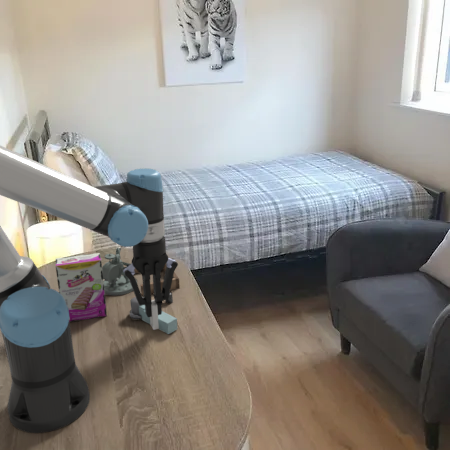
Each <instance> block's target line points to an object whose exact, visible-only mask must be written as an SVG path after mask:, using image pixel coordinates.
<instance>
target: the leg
mask: <svg viewBox="0 0 450 450" xmlns="http://www.w3.org/2000/svg"><path fill="white" fill-rule="evenodd" d="M142 297H143V298H144V296H142ZM130 310H131V312H132V313H133V314H140V315H142V319H141V321H143V322H144V323H147V324H149V325H150V317H147V315H146V313H145V305H139V303H138V301H137V299H136V296H134V297H132V298H131V299H130ZM158 324H159V329H158V330H160V331H161V332H163V333H166V334H167V335H169V334H172V333H174V332H175V331H176V330H178V318H177V317H175V316H173V315H171V314H169V313H167V312H165V311H163V310H162V313H161V315H158Z"/></svg>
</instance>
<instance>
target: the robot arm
mask: <svg viewBox="0 0 450 450" xmlns="http://www.w3.org/2000/svg"><path fill="white" fill-rule="evenodd" d="M125 179H126V181H122V182H119V183H113V184H111V183H110V184H105V185H98V186H93V185H90V184H88V183H85V182H83V181H81V180H79V179H76V178H75V177H72V176H70V175H67V174H66V173H64V172H63V173H62V172H61V171H59V170H56V169H53V168H51V167H50V166H47V165H45V164H43V163H41V162H38V161H36V160H34V159H32V158H30V157H27V156H25V155H22V154H20V153H18V152H16V151H14V150H11V149H9V148H7V147H4V146H3V145H0V196H2V197H4V198H6V199H9V200H11V201H14V202H17V203H20V204H23V205H25V206H28V207H31V208H33V209H35V210H39V211H41V212H44V213H46V214H49V215H52V216H54V217H57V218H58V219H59V218H60V219H62V220H65V221H67V222H69V223H72V224H75V225H78V226H80V227H82V228H85V229H89V230H91V231H93V232H95V233H97V234H100V235H103V236H105V237H108V238H109V239H110V240H111V242H113V243H114V244H116V245H119V246H120V247H126V248H129V247H132V258H131V263H132V264H131V263H130V264H131V265H129V266H128V267H126V266H124V268H123V272H124V273H125V275H126V276H127V277H128V278H129V281H130V283H131V286H132V288H133V291H132V292H133V293H134V297H136V299H137V301H138V303H139V305H145V313H146V315H147V317H150V324H149V325H150V326H151V328H152V330H153V331H155V330H160V329H159V324H158V315H161V313H162V311H163V310H162V309H163V307H162V305H163V302H165V300H168V298H169V294H170V292H171V290H170V289H171V284H172V279H173V274H174V272H175V270H176V269H177V267H178V266H179V264H178V261H176V259H175V258H170V257H169V256H168V254H167V248H166V247H167V246H166V245H167V243H166V237H165V235H166V233H165V232H166V231H165V230H166V229H165V213H164V193H163V192H164V189H163V187H164V186H163V180H162V175H161V173H160V172H159V171H158V170H156V169H153V168H136V169H133V170H129V171H128V172H127V174H126V178H125ZM165 264H166V266H167V267H166V271H164V277H163V280H164V281H163V286H162V291H161V278H162V272H163V268H164V266H165ZM135 268H136V269H137V270H138V271H139V273H140V275H141V278H142V284H143V293H144V295H142V294H141V289H140V288H139V285H138V281H137V282H136V280H137V279H136V278H135V274H136V273H135V271H134V269H135ZM161 271H162V272H161ZM151 276H152V282H153V288H154V293H153V299H152V294H151V288H150V283H151ZM143 297H144V298H143ZM0 333H1V337H2V340H3V343H4V348H5V353H6V357H7V362H8V367H9V372H10V376H11V385H10V390H9V395H8V400H7V401H8V402H7V413H8V417H9V418H8V419H9V422H10V423H11V425H12V426H13V427H14V428H16V429H18V430H19V431H22V432H25V433H29V434H30V433H31V434H39V433H47V432H53V431H56V430H58V429H61V428H64V427H65V426H68V425H70V424H71V423H73V422H74V421H76V420H78V418H80V417H81V416H82V414H84V412H85V411H86V409H88V406H89V404H90V400H91V399H90V397H91V396H90V389H89V385H88V383H87V381H86V379H85V377H84V376H83V374H82V373H81V371H80V369H79V368H78V366H77V363H76V358H75V351H74V345H73V338H72V337H73V336H72V331H71V322H69V310H68V307H67V305H66V302H65V299H64V297H63V296H62V295H61V294H60V293H59V290H56V289H53V288H51V285H50V283H49V281H48V279H47V278H46V277H45V275H43V274H42V272H41V271H40V270H39V268H38V267H37V265H36V264H35V262H34V260H33V259H32V258H30V257H28V256H24V255H20V254H19V252H18V251H17V249H16V247H15V246H14V245H13V243H12V241H11V240H10V239H9V237H8V236H7V234H6V232H5V231H4V229H3V228H2V227H1V225H0Z"/></svg>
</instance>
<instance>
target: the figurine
mask: <svg viewBox="0 0 450 450" xmlns="http://www.w3.org/2000/svg"><path fill="white" fill-rule="evenodd" d="M121 250H122V248H120V247H116V249H115V254H113V253H107V254H105V255H104V259H105V260H108V261H107V262H105V263H104V264H103V265H102V273H103V282H104V291H105V295H107V296H115V297H116V296H122V295H127V294H129V293H131V292H132V293H133V292H134V291H133V288H132V286H131V283H130V281H129V278H128V277H127V276H126V275H125V273H124V272H123V268H124V267H128V266H129V265H131V263H129V262H126V261H123V260H122V259H121ZM136 282H137V283H138V280H137V279H136Z"/></svg>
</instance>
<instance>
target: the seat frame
mask: <svg viewBox="0 0 450 450" xmlns="http://www.w3.org/2000/svg"><path fill="white" fill-rule="evenodd" d="M130 264H132V262H131V263H130ZM166 267H167V266H166V264H165V266H164V268H163V269H162V271H161V273H163V271H164V272H165V271H166ZM134 271H135V274H138V273H140V272H139V271H138V270H137V269H136V268H135V269H134ZM160 280H161V279H160ZM163 281H164V279H162V280H161V291H162V286H163ZM180 286H181V285H180V278H179V276H178V275H177V273H176V272H175V271H174V274H173V279H172V284H171V289H170V291H171V290H176V289H180ZM150 288H151V295H152V294H154V288H153V281H150ZM140 293H141V295H142V296H144V293H143V283H142V284H140Z"/></svg>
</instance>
